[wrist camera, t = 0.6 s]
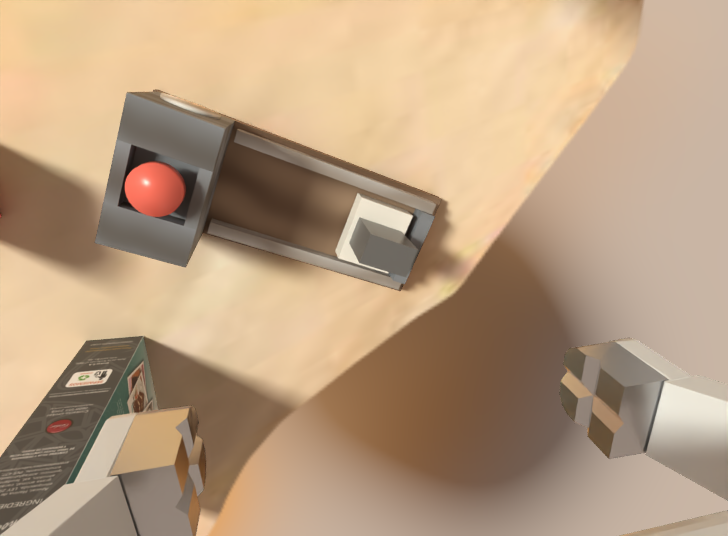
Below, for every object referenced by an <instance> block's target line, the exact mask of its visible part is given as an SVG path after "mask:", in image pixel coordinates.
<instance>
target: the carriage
mask: <svg viewBox="0 0 728 536" xmlns="http://www.w3.org/2000/svg"><path fill="white" fill-rule="evenodd" d="M412 217H413V216H412V215H411V214H410V213H409V212H408V211H407V210H404V209H401V208H399V207H396V206H393V205H390V204H388V203H385V202H382V201H379V200H376V199H374V198H371V197H368V196H365V195H363V194H360V193H357V196H356V199H355V201H354V204H353V206H352V209H351V211H350V214H349V217H348V219H347V222H346V224H345V227H344V230H343V232H342V235H341V237H340V240H339V242H338V245H337V248H336V250H335V251H336V254H337V257H338V258H339V259H342V260H345V261H349V262H352V263H355V264H358V265H362V266H365V267H368V268H371V269H375V270H378V271H381V272H385V273H389V272H390V273H393V274H396V275H400V276H403V277H406V276H407V274H408V272H409V270H410V267H411V265H412V263H413V261H414V258H415V256H416V254H417V252H418V249H417V248H416V247H415V246H414V245H413V244H412V242H411V241H410V240H409V239H408V238H407V237H406V236H405V233H406V231H407V228H408V226H409V224H410V222H411V219H412Z"/></svg>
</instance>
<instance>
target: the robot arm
mask: <svg viewBox="0 0 728 536" xmlns="http://www.w3.org/2000/svg"><path fill="white" fill-rule="evenodd" d="M563 365H564V366H565V368H566V369H567V371H568V372H567V373H566V375H565V376H564V377H563V378H562V380H561V383H560V392H559V393H560V398H561V402H562V406H563V407H564V409H565V411H566V413H567V414H568V415H569V416H570V418H571V419H572V420H573V421H574V422H576V423H578V424H580V425H582V426H584V427H586V428H587V433H588V437H589V438H590V439H591V440H592V441H593V443H594V444H595V445H596V446H597V447H598V448H599V449H600V450H601V451H602V452H603V453H604V454H605V455H606V456H607V457H608V458H609V459H611V458H618V457H624V456H629V455H636V454H641V453H646V455H647V456H649V457H650V458H652V459H654V460H656V461H658V462H659V463H661V464H663V465H665V466H666V467H669V468H670V469H672V470H674V471H676V472H677V473H679V474H681V475H683V476H685V477H686V478H688V479H690V480H692V481H694V482H695V483H697V484H699V485H701V486H702V487H704V488H706V489H708V490H709V491H711V492H713V493H715V494H717V495H718V496H720V497H722V498H724V499H726V500H727V501H728V384H725V383H722V382H719V381H715V380H712V379H709V378H706V377H702V376H699V375H698V376H691V375H690V374H688V373H686V372H685V371H683V370H682V369H680V368H679V367H677V366H676V365H674V364H673V363H671V362H670V361H668V360H667V359H665V358H664V357H662V356H661V355H659V354H658V353H656V352H655V351H653V350H652V349H650V348H648V347H647V346H646V345H644V344H643V343H641V342H639V341H638V340H636V339H632V338H624V339H619V340H614V341H609V342H607V343H600V344H594V345H587V346H581V347H575V348H569V349H568V350H567V352H566V354H565V357H564V362H563ZM198 424H199V421H198V417H197V413H196V409H195V408H194V407H193V405H190V406H182V407H174V408H167V409H159V410H152V411H144V412H139V413H130V414H123V415H117V416H112V417H110V418H109V419H107V420H106V421H105V423H104V425H103V427H102V429H101V431H100V433H99V435H98V437H97V439H96V441H95V443H94V445H93V447H92V449H91V450H90V452H89V454H88V456H87V458H86V460H85V462H84V464H83V466H82V468H81V470H80V472H79V474H78V476H77V478H76V480H75V481H74V483H71V484H65V485H63V486H62V487H61V488H60V489H58V490H57V491H56V492H54V493H53V494H52V495H51V496H49V497H48V498H47V499H46V500H44V501H43V502H42V503H40V504H39V505H38V506H37V507H35V508H34V509H33V510H31V511H30V512H29V513H28V514H26V515H25V516H24V517H23V518H21V519H20V520H19V521H17V522H16V523H15V524H14V525H12V526H11V527H10V528H8V529H7V530H6V531H5V532H3V533H2V534H1V535H0V536H196V532H197V526H198V521H199V515H200V506H199V501H198V496H199V495H200V493H201V492H202V491H203V490H204V486H205V479H206V455H205V448H204V443H203V440H202V439H201V438H200V437H198V436H197V435H196V433H197V428H198ZM620 536H728V510H727V511H722V512H719V513H714V514H710V515H705V516H701V517H697V518H693V519H688V520H684V521H680V522H676V523H671V524H667V525H663V526H659V527H654V528H650V529H646V530H642V531H637V532H633V533H629V534H625V535H620Z"/></svg>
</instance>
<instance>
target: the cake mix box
mask: <svg viewBox="0 0 728 536" xmlns="http://www.w3.org/2000/svg"><path fill="white" fill-rule="evenodd" d="M152 410H158V405H157V400H156V395H155V390H154V385H153V380H152V375H151V370H150V365H149V361H148V356H147V351H146V346H145V341H144V336H139V337H127V338H115V339H103V340H91V341H86V342H85V343H84V345H83V346H82V348H81V349H80V350H79V352H78V353H77V354H76V356H75V357H74V358H73V360H72V361H71V362H70V364H69V365H68V366H67V368H66V369H65V370H64V372H63V373H62V375H61V376H60V377H59V379H58V380H57V381H56V383H55V384H54V385H53V387H52V388H51V389H50V391H49V392H48V393H47V395H46V396H45V397H44V399H43V400H42V402H41V403H40V404H39V406H38V407H37V408H36V410H35V411H34V412H33V414H32V415H31V416H30V418H29V419H28V420H27V422H26V423H25V424H24V426H23V427H22V429H21V430H20V431H19V433H18V434H17V435H16V437H15V438H14V439H13V441H12V442H11V443H10V445H9V446H8V447H7V449H6V450H5V451H4V453H3V454H2V456H1V457H0V535H1V534H2V533H3V532H5V531H6V530H7V529H8V528H10V527H11V526H12V525H14V524H15V523H16V522H17V521H19V520H20V519H21V518H23V517H24V516H25V515H26V514H28V513H29V512H30V511H31V510H33V509H34V508H35V507H37V506H38V505H39V504H40V503H42V502H43V501H44V500H46V499H47V498H48V497H49V496H51V495H52V494H53V493H54V492H56V491H57V490H58V489H60V488H61V487H62V486H63V485H65V484H71V483H74V481H75V480H76V478H77V476H78V474H79V472H80V470H81V468H82V466H83V464H84V462H85V460H86V458H87V456H88V454H89V452H90V450H91V449H92V447H93V445H94V443H95V441H96V439H97V437H98V435H99V433H100V431H101V429H102V427H103V425H104V423H105V421H106V420H107V419H109V418H110V417H112V416H117V415H123V414H130V413H139V412H144V411H152Z"/></svg>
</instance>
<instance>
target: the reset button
mask: <svg viewBox="0 0 728 536" xmlns="http://www.w3.org/2000/svg"><path fill="white" fill-rule="evenodd" d="M125 193H126V196H127V199H128V200H129V202H130V203H131V205H132V206H133V207H134V208H135V209H136V210H138V211H139V212H141V213H143V214H145V215H148V216H153V217H162V216H166V215H169V214H171V213H172V212H174V211H175V210H176V209H177V208H178V207H179V205H180V204H181V203H182V201H183V200H184V197H185V194H186V185H185V182H184V179H183V177H182V175H181V174H180V173H179V172H178V170H176V169H175V168H174V167H173V166H171V165H169V164H167V163H165V162H161V161H149V162H146V163H143V164H141V165H140V166H138V167H136V168H135V169H133V170H132V171H131V172H130V173H129V175H128V176H127V178H126V181H125Z"/></svg>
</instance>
